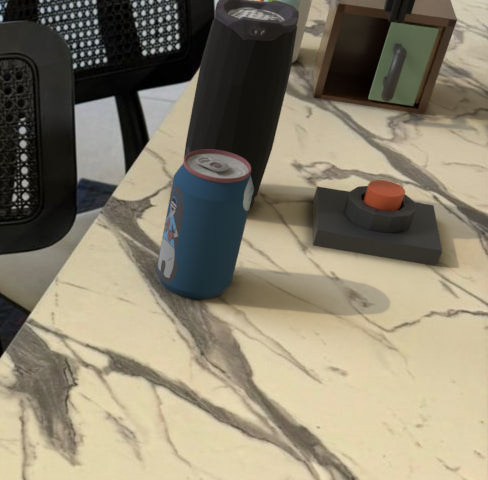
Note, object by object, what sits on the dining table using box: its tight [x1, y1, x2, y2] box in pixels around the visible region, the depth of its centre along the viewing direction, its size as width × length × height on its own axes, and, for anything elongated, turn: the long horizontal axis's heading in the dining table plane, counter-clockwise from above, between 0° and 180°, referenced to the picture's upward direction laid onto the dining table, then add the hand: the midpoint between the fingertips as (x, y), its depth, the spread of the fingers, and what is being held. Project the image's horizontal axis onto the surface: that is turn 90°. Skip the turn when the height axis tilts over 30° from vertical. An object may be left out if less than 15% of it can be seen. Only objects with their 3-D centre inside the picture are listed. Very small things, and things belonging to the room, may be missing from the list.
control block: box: [312, 185, 443, 267], centre depth 103 cm, size 12×10×4 cm
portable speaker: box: [182, 0, 299, 211], centre depth 101 cm, size 9×9×20 cm
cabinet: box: [312, 0, 458, 116], centre depth 130 cm, size 14×10×12 cm
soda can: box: [156, 149, 254, 300], centre depth 91 cm, size 7×7×12 cm
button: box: [363, 179, 406, 211], centre depth 102 cm, size 4×4×2 cm
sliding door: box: [368, 21, 439, 106], centre depth 124 cm, size 6×5×9 cm
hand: (395, 18), depth 119 cm, fingers closed
